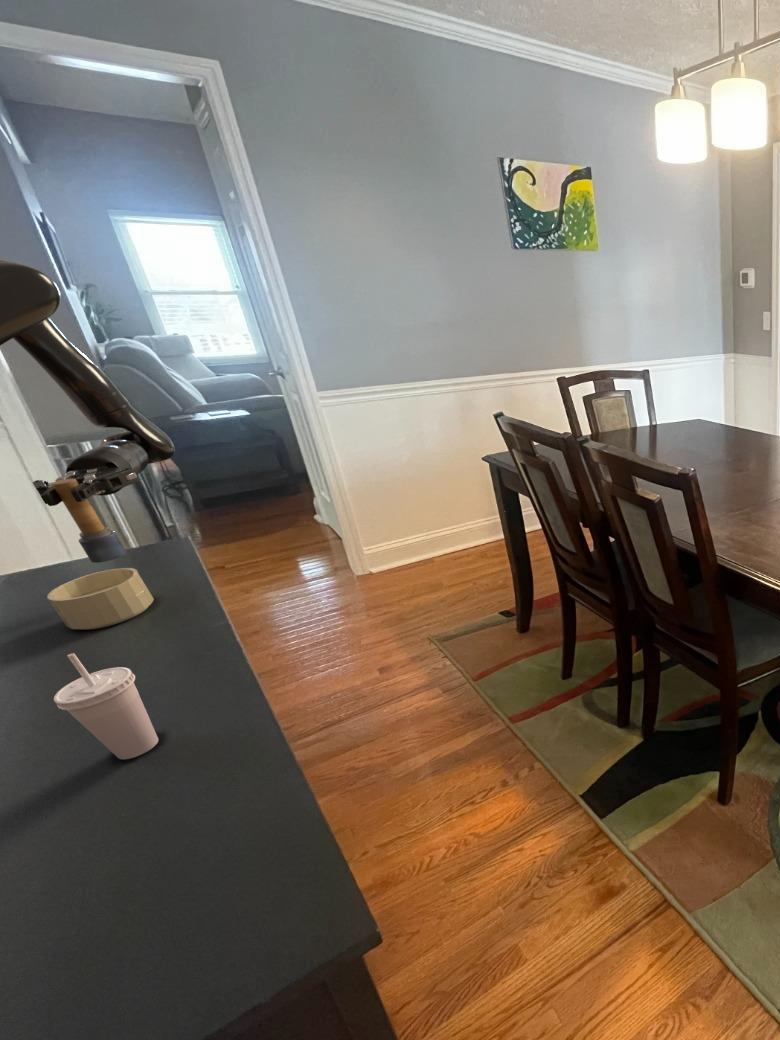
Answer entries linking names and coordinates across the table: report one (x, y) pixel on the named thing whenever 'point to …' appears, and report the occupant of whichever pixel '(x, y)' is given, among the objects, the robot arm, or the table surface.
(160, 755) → the table surface
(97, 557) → the brush
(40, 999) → the table surface
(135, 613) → the bowl
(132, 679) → the smoothie
